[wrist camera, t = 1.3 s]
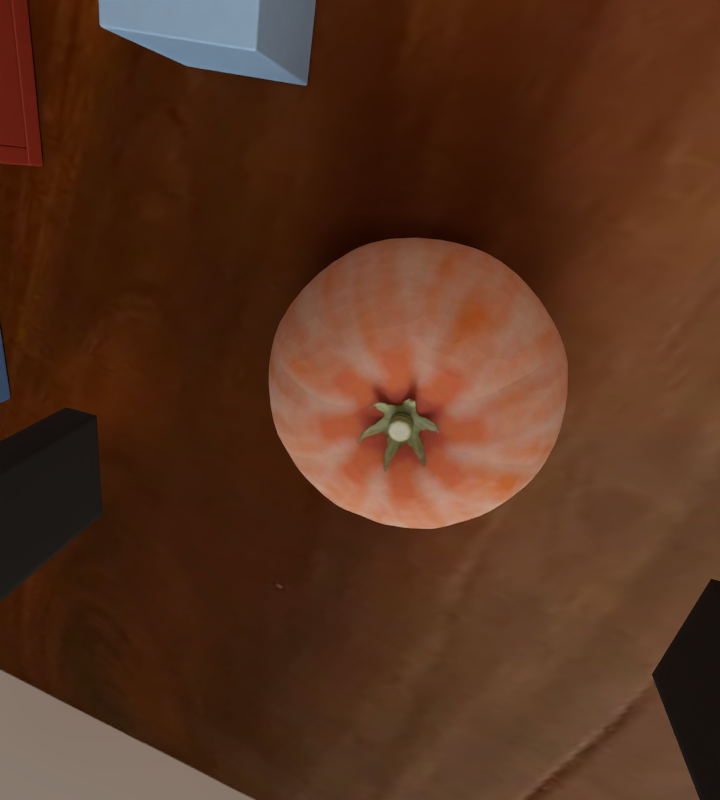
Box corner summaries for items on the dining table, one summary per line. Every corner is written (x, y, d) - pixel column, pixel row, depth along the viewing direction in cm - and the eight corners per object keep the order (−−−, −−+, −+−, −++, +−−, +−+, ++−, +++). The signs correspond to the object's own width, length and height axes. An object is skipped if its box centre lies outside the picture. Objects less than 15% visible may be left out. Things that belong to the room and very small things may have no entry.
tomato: (601, 286, 19) (681, 342, 12) (483, 496, 24) (489, 628, 17) (345, 189, 20) (273, 187, 12) (279, 413, 24) (199, 506, 17)
